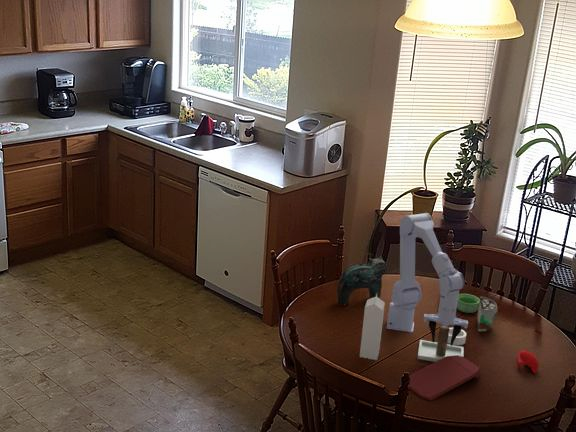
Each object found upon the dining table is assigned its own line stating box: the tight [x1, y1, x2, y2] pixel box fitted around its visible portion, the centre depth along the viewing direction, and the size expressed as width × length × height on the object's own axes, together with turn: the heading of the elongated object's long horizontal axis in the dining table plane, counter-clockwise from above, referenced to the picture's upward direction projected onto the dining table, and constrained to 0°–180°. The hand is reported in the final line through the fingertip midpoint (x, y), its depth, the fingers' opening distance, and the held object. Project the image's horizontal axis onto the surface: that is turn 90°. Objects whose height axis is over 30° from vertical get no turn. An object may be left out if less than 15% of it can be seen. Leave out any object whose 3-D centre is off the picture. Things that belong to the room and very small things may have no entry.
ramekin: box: [456, 293, 480, 314], centre depth 276 cm, size 9×9×4 cm
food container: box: [476, 295, 498, 333], centre depth 261 cm, size 12×6×10 cm, turn 168°
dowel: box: [436, 325, 450, 356], centre depth 240 cm, size 3×3×10 cm
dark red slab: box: [408, 355, 481, 401], centre depth 226 cm, size 12×5×25 cm
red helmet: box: [515, 349, 539, 374], centre depth 236 cm, size 8×6×6 cm
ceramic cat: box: [336, 253, 387, 306], centre depth 274 cm, size 20×6×20 cm, turn 114°
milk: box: [359, 294, 386, 361], centre depth 236 cm, size 6×6×22 cm
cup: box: [447, 327, 467, 346], centre depth 251 cm, size 7×7×4 cm
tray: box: [417, 339, 465, 363], centre depth 241 cm, size 15×11×2 cm
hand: (442, 342), depth 240 cm, fingers open, 5 cm apart
